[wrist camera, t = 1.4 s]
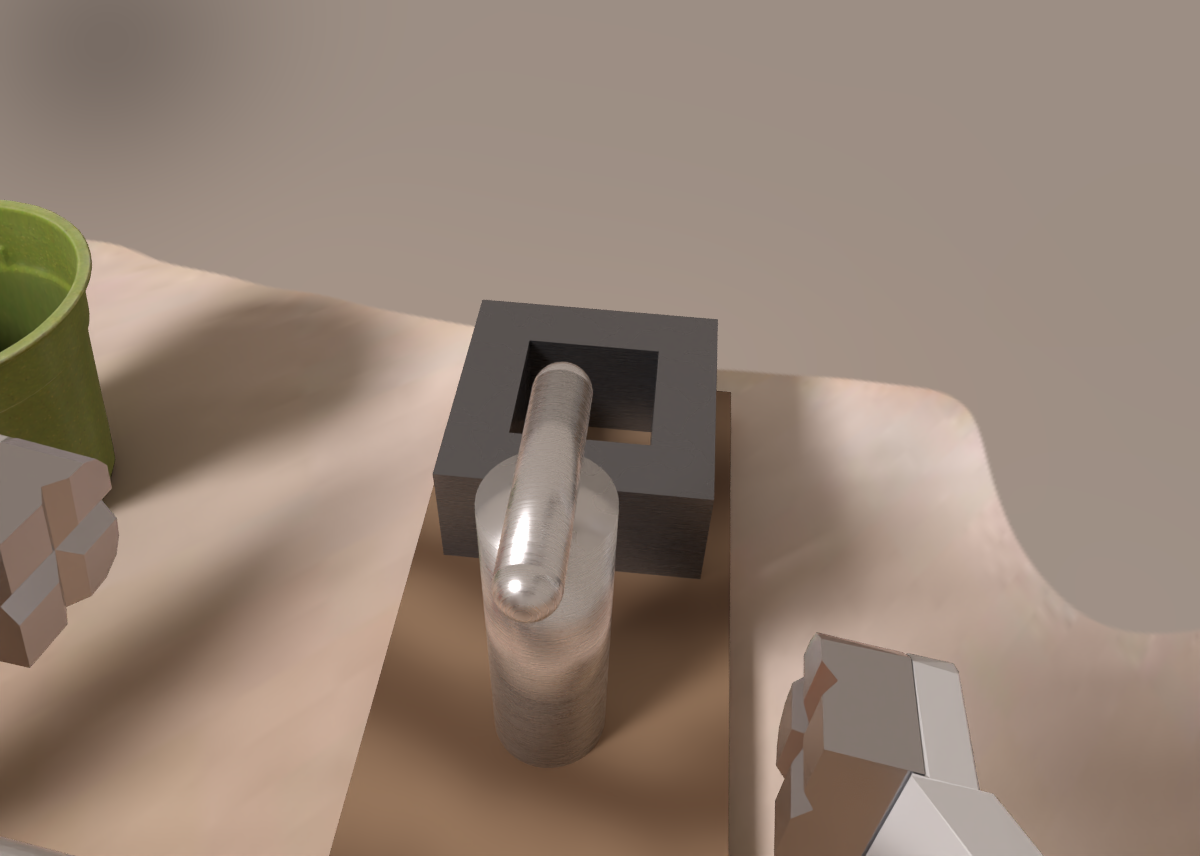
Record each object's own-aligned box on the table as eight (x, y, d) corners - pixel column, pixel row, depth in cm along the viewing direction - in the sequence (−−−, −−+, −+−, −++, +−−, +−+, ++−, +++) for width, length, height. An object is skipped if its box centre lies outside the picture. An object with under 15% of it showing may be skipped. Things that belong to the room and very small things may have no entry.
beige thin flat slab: (468, 391, 50) (466, 369, 49) (727, 414, 50) (730, 392, 49) (334, 881, 33) (326, 863, 32) (722, 924, 33) (728, 908, 32)
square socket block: (488, 380, 49) (482, 299, 45) (705, 400, 48) (717, 319, 45) (443, 554, 41) (432, 474, 38) (700, 579, 41) (714, 500, 37)
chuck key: (514, 609, 39) (498, 343, 30) (615, 618, 39) (633, 355, 29) (473, 829, 33) (436, 587, 23) (592, 842, 33) (606, 603, 23)
